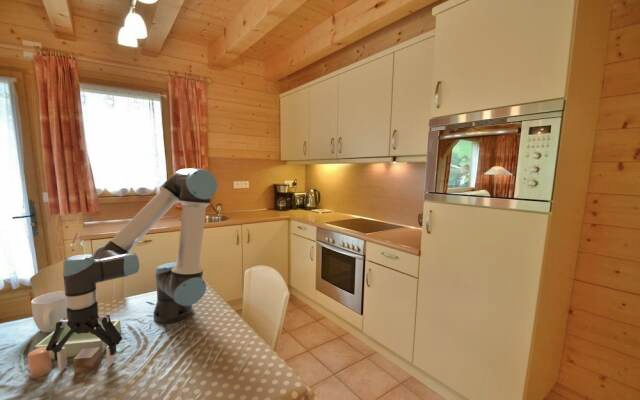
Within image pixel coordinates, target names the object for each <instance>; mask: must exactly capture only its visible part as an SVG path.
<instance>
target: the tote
mask: <svg viewBox="0 0 640 400" xmlns="http://www.w3.org/2000/svg"><path fill="white" fill-rule="evenodd" d="M110 320H111V322H112V324H113V325H114V326H115V328H116V329H117V331H118V332H119V334H120V333H121V332H122V326H121V325H122V324H121V319H110ZM98 323H99V324H100V325H101V323H100V322H98ZM101 326H102V328H103V329H104V327H103V325H101ZM94 329H96V327H95V328H94ZM70 330H71V328H70V327H69V326H68V325H66V326H65V327H64V330H63V332H62V334H61V336H60V338H59V340H58V342H57V345H58V343H59V342H60V341H61V340H62V339H63V338H64V337H65V336H66V334H67V333H68V332H69V331H70ZM104 330H105V329H104ZM105 331H106V330H105ZM54 332H55V331H53V332H50V334H48V335H47V336H46V337H44V338H43V339H42V340H40V342H38V343H37V344H35V345H34V346H33V350H35V349H38V348H41V347H47V346H48V344H49V342H50V340H51V338H52V336H53V334H54ZM107 346H108V345H107V344H105V343H104V342H103V341H102V340H101V339H99V338H98V337H97V336H96V335H95V334H91V333H90V332H89V333H80V334H77V333H74V334H73V335H72V336H71V337H70V338H69V340H68V341H67V342H66V343H65V344H64V346H62V348H63V347H66V356H67V358H75V357H76V356H77V355H78V354H79V353H80V352H81V351H82V349H88V348H98V347H100V351H101V355H102V354H103V353H104V352H106V347H107ZM50 352H51V360H55V356H54V352H53V351H51V350H50Z"/></svg>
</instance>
